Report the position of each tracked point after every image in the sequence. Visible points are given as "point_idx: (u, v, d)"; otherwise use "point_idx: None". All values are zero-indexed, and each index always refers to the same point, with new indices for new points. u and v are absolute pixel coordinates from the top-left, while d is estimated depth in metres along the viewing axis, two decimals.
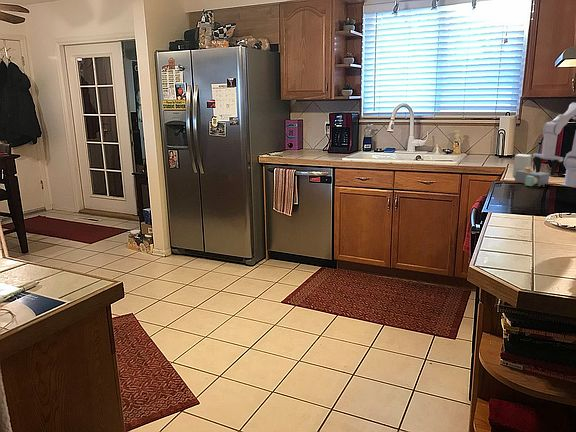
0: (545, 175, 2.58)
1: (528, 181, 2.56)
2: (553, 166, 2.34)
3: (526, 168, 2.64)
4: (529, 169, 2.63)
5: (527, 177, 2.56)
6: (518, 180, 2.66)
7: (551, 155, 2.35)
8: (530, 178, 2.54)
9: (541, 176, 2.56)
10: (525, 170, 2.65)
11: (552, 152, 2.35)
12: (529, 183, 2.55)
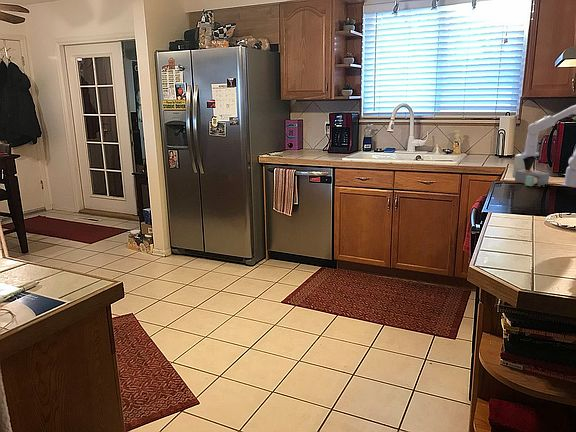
0: (545, 175, 2.58)
1: (528, 181, 2.56)
2: None
3: (526, 170, 2.64)
4: (529, 171, 2.64)
5: (527, 177, 2.56)
6: (518, 180, 2.66)
7: (525, 152, 2.62)
8: (530, 178, 2.54)
9: (541, 176, 2.56)
10: None
11: (526, 150, 2.61)
12: (529, 183, 2.55)
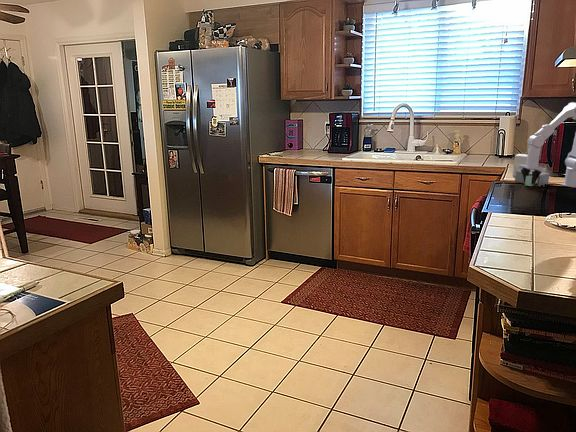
0: (545, 175, 2.58)
1: (528, 181, 2.56)
2: (534, 176, 2.52)
3: None
4: None
5: (527, 177, 2.56)
6: (518, 180, 2.66)
7: (535, 166, 2.51)
8: (530, 178, 2.54)
9: (541, 176, 2.56)
10: None
11: (536, 163, 2.51)
12: (529, 183, 2.55)
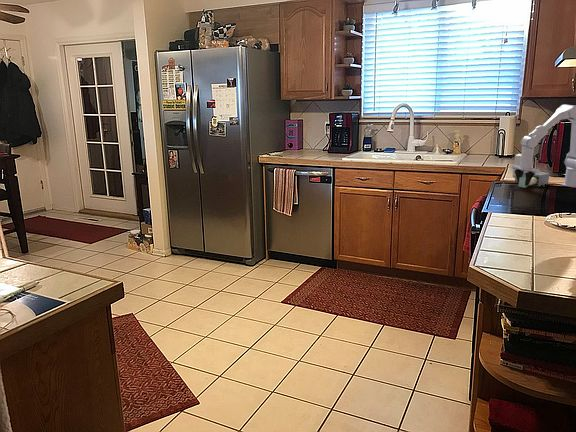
0: (545, 175, 2.58)
1: (522, 182, 2.53)
2: (527, 177, 2.49)
3: None
4: None
5: (521, 178, 2.53)
6: None
7: (528, 167, 2.48)
8: (524, 179, 2.52)
9: (541, 176, 2.56)
10: None
11: (529, 164, 2.48)
12: (523, 184, 2.52)
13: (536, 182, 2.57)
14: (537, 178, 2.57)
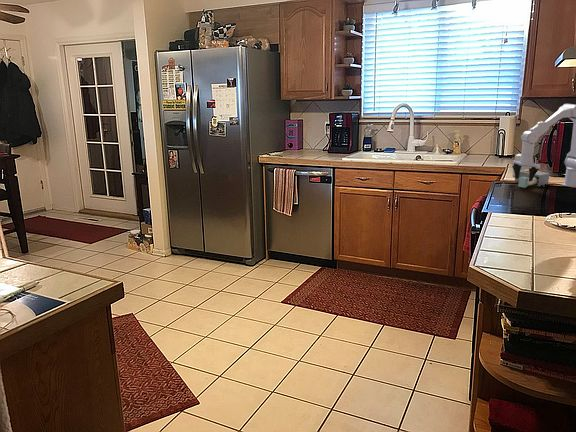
0: (545, 175, 2.58)
1: (521, 182, 2.53)
2: (531, 173, 2.47)
3: (526, 170, 2.64)
4: None
5: (520, 178, 2.53)
6: (518, 180, 2.66)
7: (529, 162, 2.47)
8: (523, 179, 2.51)
9: (541, 176, 2.56)
10: None
11: (530, 159, 2.47)
12: (522, 185, 2.52)
13: (536, 182, 2.57)
14: (537, 178, 2.57)
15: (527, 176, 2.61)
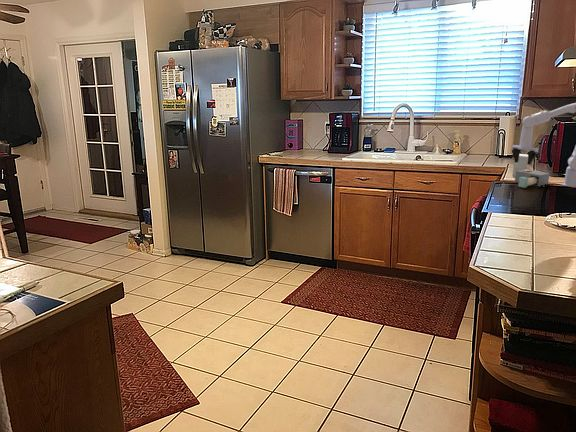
0: (545, 175, 2.58)
1: (521, 182, 2.53)
2: (529, 156, 2.58)
3: (526, 170, 2.64)
4: (529, 171, 2.64)
5: (520, 178, 2.53)
6: (518, 180, 2.66)
7: (528, 146, 2.59)
8: (523, 179, 2.51)
9: (541, 176, 2.56)
10: None
11: (528, 143, 2.58)
12: (522, 185, 2.52)
13: (536, 182, 2.57)
14: (537, 178, 2.57)
15: (527, 176, 2.61)
